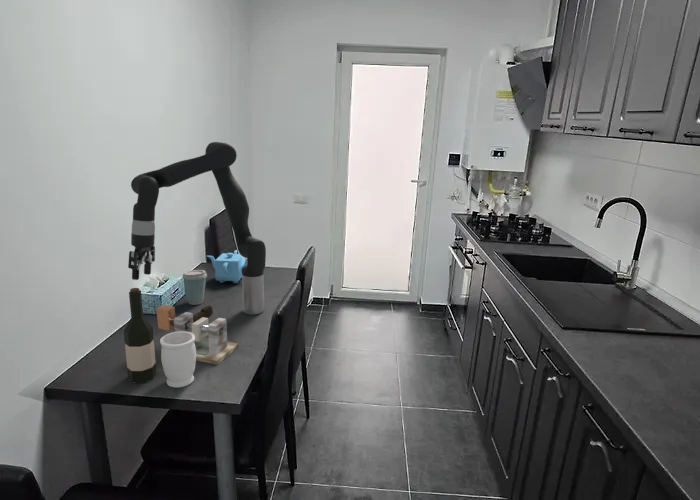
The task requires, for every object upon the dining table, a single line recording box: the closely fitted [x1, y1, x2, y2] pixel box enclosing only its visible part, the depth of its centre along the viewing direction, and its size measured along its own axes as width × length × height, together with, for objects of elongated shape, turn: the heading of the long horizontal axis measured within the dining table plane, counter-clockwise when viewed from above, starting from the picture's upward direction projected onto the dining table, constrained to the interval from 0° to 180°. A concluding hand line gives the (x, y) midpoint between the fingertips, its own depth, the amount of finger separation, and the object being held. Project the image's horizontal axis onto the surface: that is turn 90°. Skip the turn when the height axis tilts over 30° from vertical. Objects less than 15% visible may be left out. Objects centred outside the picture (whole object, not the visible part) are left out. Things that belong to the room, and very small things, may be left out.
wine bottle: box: [123, 287, 157, 383], centre depth 145 cm, size 8×8×30 cm
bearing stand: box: [173, 311, 240, 366], centre depth 165 cm, size 14×22×12 cm, turn 73°
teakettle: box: [206, 249, 247, 284], centre depth 242 cm, size 19×19×15 cm
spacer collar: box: [192, 317, 210, 342], centre depth 165 cm, size 6×2×6 cm, turn 163°
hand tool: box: [193, 305, 214, 323], centre depth 190 cm, size 19×4×5 cm, turn 154°
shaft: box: [156, 304, 208, 332], centre depth 166 cm, size 4×24×8 cm, turn 73°
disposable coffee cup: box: [182, 269, 208, 306], centre depth 210 cm, size 11×11×15 cm
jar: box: [159, 331, 197, 388], centre depth 145 cm, size 11×10×15 cm
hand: (141, 276), depth 165 cm, fingers open, 8 cm apart
